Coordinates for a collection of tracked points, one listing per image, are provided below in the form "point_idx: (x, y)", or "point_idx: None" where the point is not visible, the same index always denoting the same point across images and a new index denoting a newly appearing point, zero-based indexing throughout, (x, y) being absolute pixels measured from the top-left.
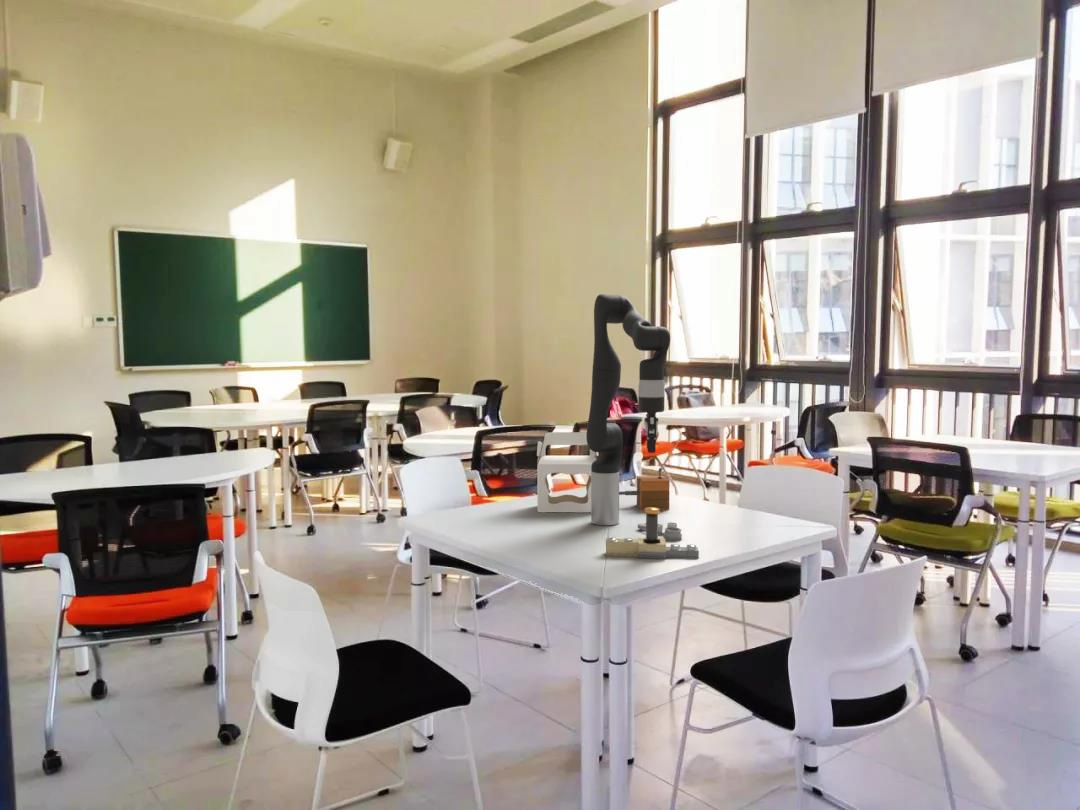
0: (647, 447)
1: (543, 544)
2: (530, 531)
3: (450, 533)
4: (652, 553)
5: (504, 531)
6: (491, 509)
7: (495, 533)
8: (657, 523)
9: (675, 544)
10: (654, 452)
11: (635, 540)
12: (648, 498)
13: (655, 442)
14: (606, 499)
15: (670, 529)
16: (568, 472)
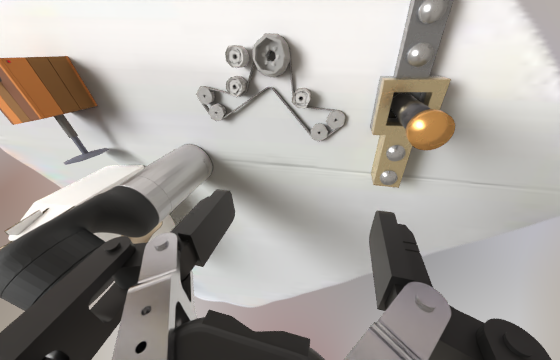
0: (232, 219)
1: (322, 235)
2: (261, 239)
3: (282, 291)
4: None
5: (266, 258)
6: None
7: (276, 265)
8: (428, 107)
9: (414, 53)
10: (391, 214)
11: (396, 140)
12: (70, 98)
13: (407, 261)
14: (188, 181)
15: (256, 60)
16: (117, 234)
